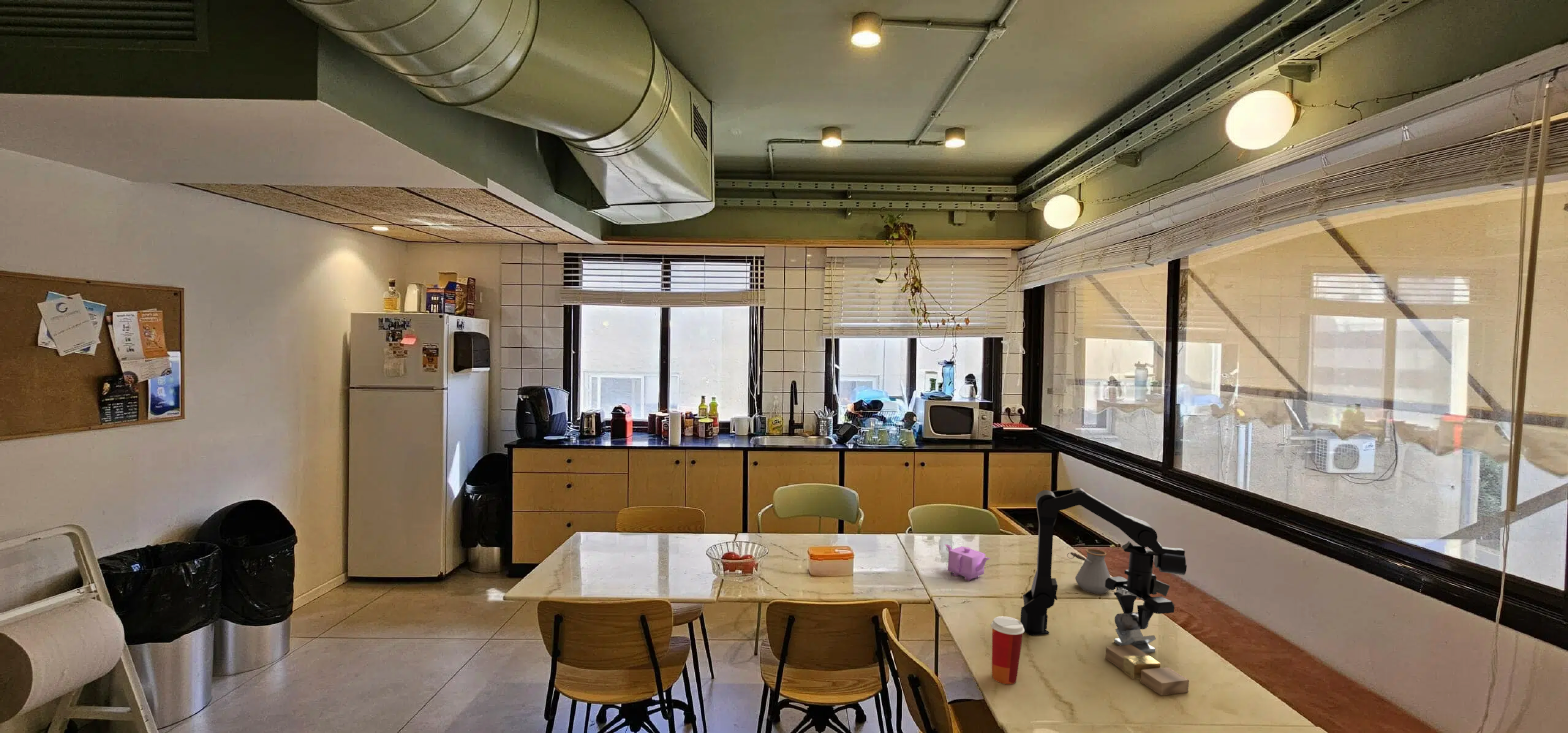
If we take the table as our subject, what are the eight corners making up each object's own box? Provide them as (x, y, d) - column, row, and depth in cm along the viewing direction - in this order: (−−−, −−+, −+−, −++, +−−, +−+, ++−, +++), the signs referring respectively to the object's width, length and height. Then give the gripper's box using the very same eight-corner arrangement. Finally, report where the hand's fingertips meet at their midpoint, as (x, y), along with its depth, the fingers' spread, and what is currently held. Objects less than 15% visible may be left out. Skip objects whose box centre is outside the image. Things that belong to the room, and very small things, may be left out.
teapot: (1000, 579, 230) (1002, 551, 229) (979, 588, 221) (981, 558, 220) (954, 563, 243) (956, 537, 243) (933, 571, 234) (935, 544, 234)
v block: (1133, 654, 179) (1134, 638, 179) (1114, 642, 186) (1115, 627, 185) (1155, 652, 181) (1156, 636, 180) (1135, 640, 187) (1136, 625, 187)
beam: (1160, 695, 158) (1161, 683, 158) (1105, 658, 176) (1106, 647, 176) (1188, 692, 161) (1189, 679, 160) (1130, 655, 178) (1131, 644, 178)
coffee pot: (1086, 580, 232) (1089, 538, 231) (1119, 592, 223) (1122, 547, 222) (1050, 592, 220) (1053, 547, 219) (1083, 605, 211) (1087, 558, 210)
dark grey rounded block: (1126, 634, 179) (1127, 618, 179) (1113, 626, 184) (1115, 610, 183) (1147, 632, 181) (1149, 616, 181) (1134, 624, 186) (1136, 609, 185)
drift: (1133, 680, 166) (1134, 664, 165) (1122, 671, 170) (1124, 656, 169) (1159, 679, 167) (1160, 663, 166) (1148, 671, 171) (1149, 655, 170)
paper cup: (1013, 670, 167) (1017, 615, 166) (1025, 687, 159) (1030, 629, 158) (982, 669, 167) (986, 614, 166) (993, 686, 159) (997, 628, 158)
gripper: (1193, 580, 175) (1188, 638, 176) (1138, 555, 193) (1133, 609, 194) (1158, 582, 172) (1153, 642, 173) (1105, 557, 190) (1101, 611, 191)
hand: (1135, 625), depth 183 cm, fingers closed on dark grey rounded block, 4 cm apart
